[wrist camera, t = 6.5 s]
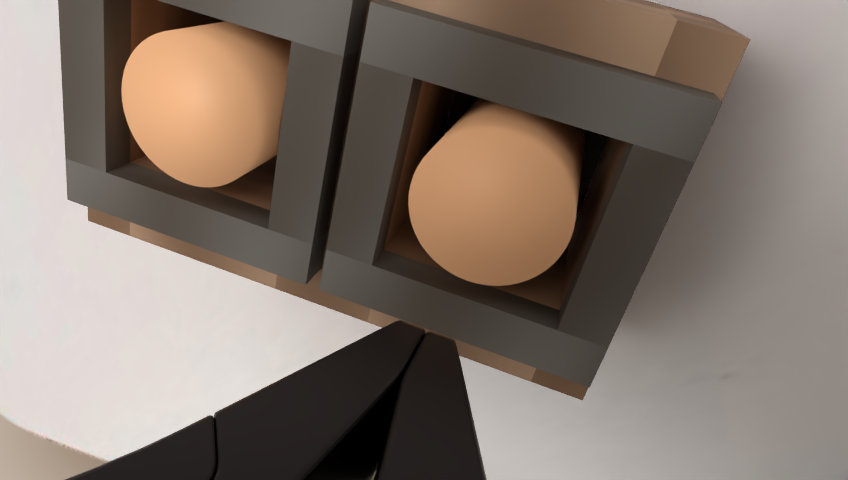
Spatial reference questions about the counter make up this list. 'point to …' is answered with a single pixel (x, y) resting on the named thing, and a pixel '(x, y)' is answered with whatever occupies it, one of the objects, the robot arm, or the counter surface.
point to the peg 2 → (498, 194)
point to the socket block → (414, 154)
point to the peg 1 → (207, 100)
